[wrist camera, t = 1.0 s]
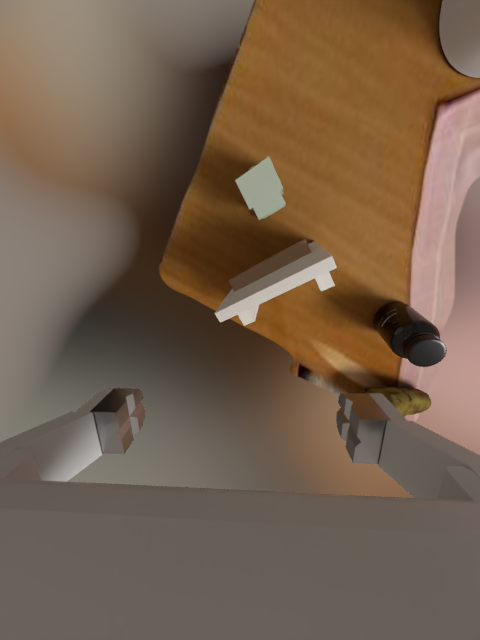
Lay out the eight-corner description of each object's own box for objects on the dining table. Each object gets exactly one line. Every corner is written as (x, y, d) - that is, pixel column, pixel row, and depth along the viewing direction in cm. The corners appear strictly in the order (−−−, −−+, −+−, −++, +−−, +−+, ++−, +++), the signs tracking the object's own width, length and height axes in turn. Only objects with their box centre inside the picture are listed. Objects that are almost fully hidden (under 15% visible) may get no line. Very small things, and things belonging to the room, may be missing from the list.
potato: (401, 413, 51) (421, 445, 44) (349, 392, 51) (359, 420, 44) (428, 388, 48) (453, 418, 41) (371, 364, 48) (386, 391, 41)
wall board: (309, 230, 39) (325, 239, 25) (326, 268, 41) (349, 297, 27) (231, 273, 45) (206, 300, 30) (249, 305, 47) (234, 345, 32)
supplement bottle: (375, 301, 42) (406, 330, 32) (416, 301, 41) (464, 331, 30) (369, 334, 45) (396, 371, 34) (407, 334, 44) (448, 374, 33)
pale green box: (269, 164, 36) (266, 149, 28) (287, 204, 38) (289, 201, 30) (242, 182, 38) (231, 174, 30) (261, 220, 40) (255, 222, 32)
